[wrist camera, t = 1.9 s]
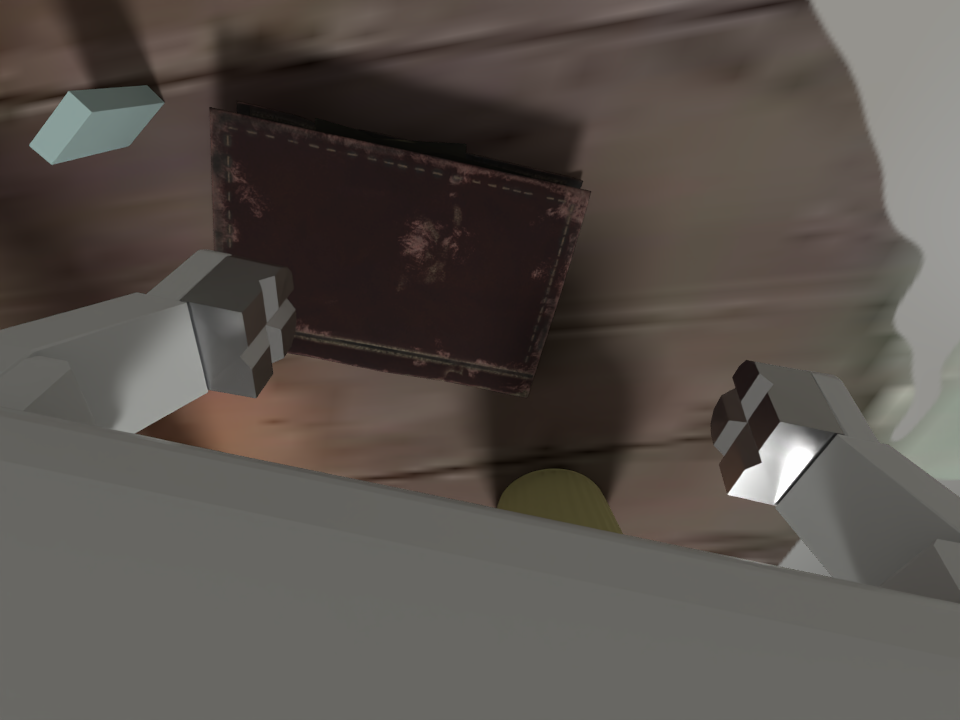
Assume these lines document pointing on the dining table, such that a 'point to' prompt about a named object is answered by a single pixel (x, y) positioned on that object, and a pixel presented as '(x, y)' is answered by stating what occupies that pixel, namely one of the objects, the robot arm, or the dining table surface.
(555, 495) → the potted cactus
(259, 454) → the dining table surface
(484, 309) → the diary
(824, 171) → the dining table surface
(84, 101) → the domino
